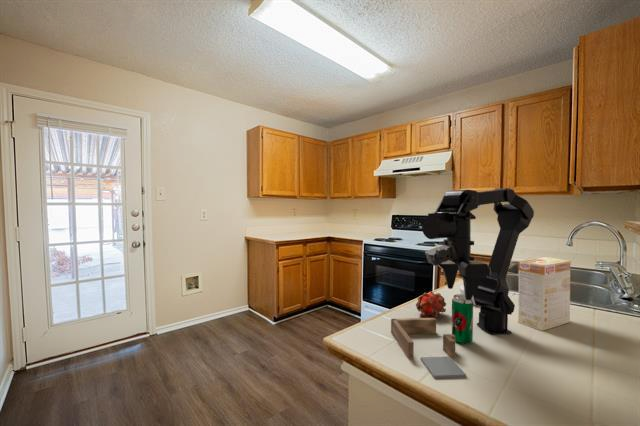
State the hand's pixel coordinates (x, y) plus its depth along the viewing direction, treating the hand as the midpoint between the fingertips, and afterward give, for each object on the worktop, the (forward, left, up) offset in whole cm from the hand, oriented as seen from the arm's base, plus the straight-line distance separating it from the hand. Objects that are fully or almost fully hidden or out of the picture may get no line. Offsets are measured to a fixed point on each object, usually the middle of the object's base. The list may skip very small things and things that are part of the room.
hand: (458, 293), depth 74 cm
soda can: (-1, +1, -13) cm, 13 cm away
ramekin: (-23, -28, -13) cm, 39 cm away
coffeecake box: (-33, -9, -13) cm, 36 cm away
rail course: (+11, +2, -13) cm, 17 cm away
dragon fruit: (0, -16, -13) cm, 21 cm away
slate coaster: (+11, +13, -13) cm, 21 cm away
